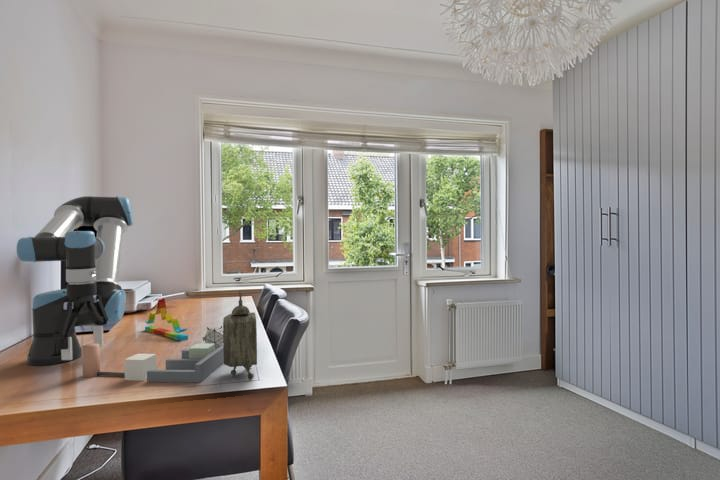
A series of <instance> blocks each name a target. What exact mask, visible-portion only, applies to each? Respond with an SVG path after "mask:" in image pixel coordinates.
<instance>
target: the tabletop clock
mask: <svg viewBox="0 0 720 480" xmlns="http://www.w3.org/2000/svg"><path fill="white" fill-rule="evenodd" d="M238 293H239V300H238V305H237V306H235V307H234V308H233V309H232V311H231V313H229V314H227V315H226V316H224V317H223V321H222V331H223V351H224V363H223V365H225V366H226V367H229V368H232V370H231V371H230V375H231V376H236V374H237V370H236V369H237V367H243V368H244V369H245V371H246V372H247V378H248V379H249V380H252V379H254V373H251V371H250V369H251V368H252V367H253V366H255V365H258V338H257V337H258V336H257V335H258V334H257V333H258V332H257V316H256V312H251V311H250V309H249V308H248V306H246V305H243V300H242V298H243V297H242V295H243V294H242V290H239V292H238Z"/></svg>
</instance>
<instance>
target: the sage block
mask: <svg viewBox="0 0 720 480" xmlns="http://www.w3.org/2000/svg"><path fill="white" fill-rule="evenodd" d="M188 350H189V359H204V358H205V357H206V356H208V355H209V354H211V353H212V352H213V351H215V350H216V348H215V343H206V342H205V343H202V342H200V343H196V344H194V345H192V346H190V347H189V348H188Z"/></svg>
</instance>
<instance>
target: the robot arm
mask: <svg viewBox="0 0 720 480" xmlns="http://www.w3.org/2000/svg"><path fill="white" fill-rule="evenodd" d="M132 212H133V211H132V205H131V201H130V199H129V198H127V197H125V196H124V197H123V196H89V195H88V196H79V197H76V198H73V199H70V200H68V201H66V202H63V203H62V204H61V205H59V206H58V207H57V208H56V209H55V211H54V213H53V217H52V218H51V219H50V220H49V221H48V222H47V223H46V224H45V225H44V227H43V228H42V229H40V231H39V232H38V233H37V234H36V235H35V236H34V237H33V236H28V237H20V238H19V240H17V242H16V243H17V244H16V255H17V258H18V259H19V260H20V261H21V262H30V263H31V262H33V263H39V262H63V261H64V262H65V282H66V283H67V284H66V288H62V289H55V290H51V291H45V292H42V293H41V292H40V293H38V294H36V295H34V297H33V298H32V307H31V310H32V332H33V333H32V334H33V335H32V337H33V338H32V342H31V344H30V348H29V350H28V353H27V355H26V362H27V364H28V365H31V366H49V365H50V366H51V365H57V364H63V363H66V362H71V361H74V360H77V359H80V357H81V358H82V346H81V344H80V342H79V339H78V337H77V333H76V327H87V326H92V327H93V328H92V332H93V335H92V336H93V343H99V344H100V347H104V345H105V343H104V326H106V325H110V324H111V325H112V324H117V323H119V322H120V321H121V320H122V318H123V317H124V314H125V310H126V304H127V303H126V302H127V295H126V294H127V293H126V291H125V290H123V287H122V285H120V284H119V273H120V264H121V263H120V262H121V254H122V253H121V251H122V242H123V234H124V233H125V232H127V230H128V227H130V226H131V227H132V226H133V224H134V221H133V213H132ZM84 226H85V227H93V228H94V230H95V231H96V236H95V232H94V231H92V230H76V229H78V228H80V227H84ZM74 230H75V231H74Z"/></svg>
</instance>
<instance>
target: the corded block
mask: <svg viewBox="0 0 720 480" xmlns="http://www.w3.org/2000/svg"><path fill="white" fill-rule="evenodd" d="M81 348H82V356H81V358H82V377H83V378H85V379H86V378H94V377H98V376H107V377H108V376H112V377H114V376H116V377H124V381H135V382H137V381H138V382H140V381H141V382H145V381H147V371H148V370H158V368H157V367H158V366H157V353H136V354H133V355H132V356H129V357H127V358H125V359H124V360H123V361H124V372H122V371H121V372H120V371H118V372H117V371H101V355H100V354H101V350H100V348H101V346H100V344H99V343H94V342H93V343H87V344H84V345H82V346H81Z"/></svg>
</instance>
